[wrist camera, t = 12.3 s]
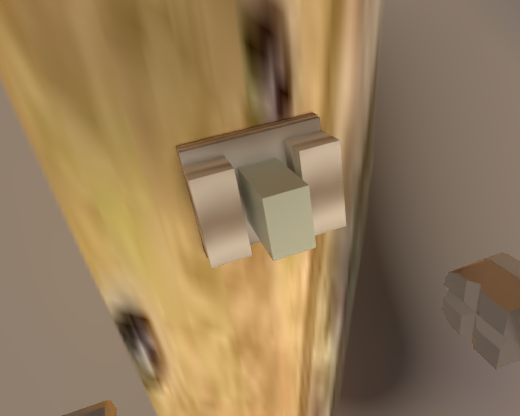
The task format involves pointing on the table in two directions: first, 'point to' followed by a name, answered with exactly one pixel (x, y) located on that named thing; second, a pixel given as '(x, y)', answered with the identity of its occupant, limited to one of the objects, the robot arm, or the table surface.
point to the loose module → (278, 207)
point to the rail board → (251, 151)
